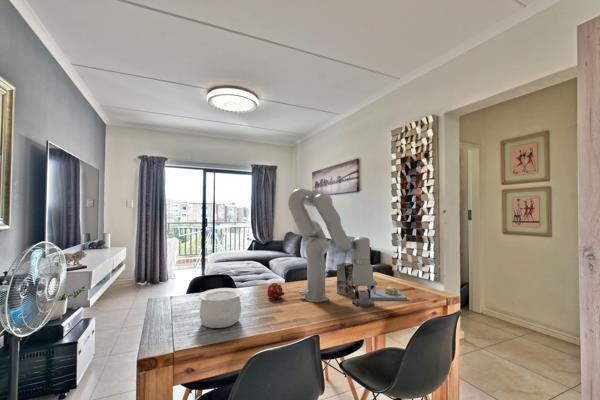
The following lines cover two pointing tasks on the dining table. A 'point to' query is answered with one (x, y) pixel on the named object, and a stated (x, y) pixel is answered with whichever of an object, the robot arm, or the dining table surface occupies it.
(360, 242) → the robot arm
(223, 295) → the pot
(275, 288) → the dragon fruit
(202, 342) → the dining table surface
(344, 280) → the coffee box
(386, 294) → the carrier
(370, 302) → the gear
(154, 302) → the dining table surface
